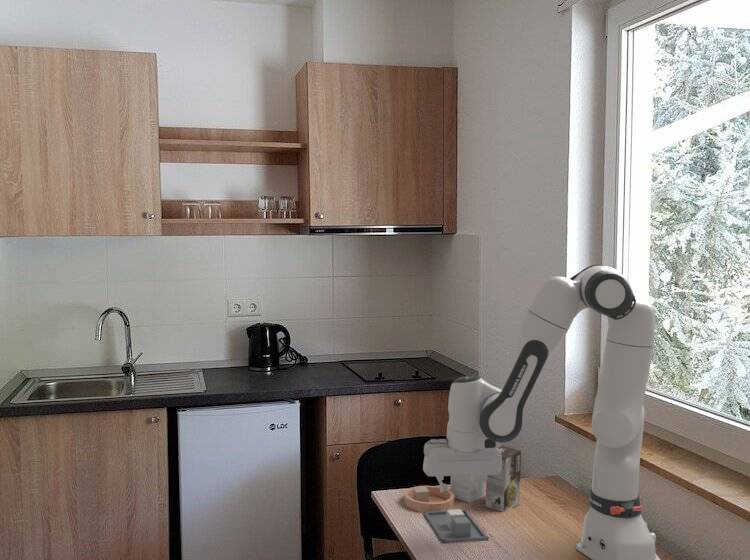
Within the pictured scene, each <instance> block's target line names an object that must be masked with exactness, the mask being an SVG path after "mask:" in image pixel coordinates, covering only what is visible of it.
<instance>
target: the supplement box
mask: <svg viewBox="0 0 750 560" xmlns="http://www.w3.org/2000/svg"><path fill="white" fill-rule="evenodd" d="M480 478H481V476H480V475H464V476H450V481H449V482H450V485H449V486H450V489H449V491H451V492H452V493H453V494H454V499H458V500H460V501H464V502H467V503H471V502H474V501H476V500H479V499H481V498H483V497H484V496H485V494H484V493H485V484H484V485H483V490H482V491H476V490H475V483H478V482H479V480H480Z"/></svg>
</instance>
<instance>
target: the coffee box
mask: <svg viewBox="0 0 750 560" xmlns="http://www.w3.org/2000/svg"><path fill="white" fill-rule="evenodd" d="M498 449H499V450H500V452H501V456H502V470H501V472H500V473H499V474H496V475H488V478H487V480H486V482H485V508H488V509H489V508H490V509H493V510H496V511H499V512H503V513H505V512H507V511H508V510H511V509H514V508H516V507H517V506H519V505H520V502H521V501H520V500H521V499H520V496H521V473H522V471H521V469H522V468H521V466H522V465H521V463H522V450H520V449H515V448H513V447H509V446H504V445H502V446H499V448H498ZM515 506H516V507H515ZM513 507H514V508H513Z"/></svg>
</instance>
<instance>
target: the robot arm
mask: <svg viewBox="0 0 750 560" xmlns="http://www.w3.org/2000/svg"><path fill="white" fill-rule="evenodd" d="M586 309H591V310H593V311H595V312H596V313H598V314H601V315H602V316H603V315H604V316H606V317H607V325H608V328H607V333H606V338H605V346H604V353H603V360H602V366H601V367H602V368H601V372H600V373H601V374H600V375H599V376H600V378H599V381H598V386H597V389H596V390H597V391H596V395H595V400H594V405H593V412H592V417H591V429H592V433H593V436H594V437H595V439H596V443H595V450H594V455H593V465H592V483H591V485H592V486H591V489H590V490H589V495H588V496H589V497H588V498H589V499H588V500H589V509H588V511H587V512H586V514H585V515H584V518H583V523H582V530H581V531H582V532H581V539H580V542H578V543H577V544H576V548H575V549H576V550H577V551H579V552H580V553H582V554H583V555H585V556H586V557H588V558H589V559H590V560H661V559H660V557H659V556H658V555H657V553H656V544H655V543H656V542H657V536H656V534H655V532H650V530H649V527H648V524H647V522H646V521H645V520H644V518H643V516H642V511H643V509H642V508H643V505H641V504H642V503H641V500H640V495H639V482H640V481H639V479H640V465H641V456H642V446H643V437H644V436H643V435H644V426H645V417H646V415H645V407H644V401H645V395H646V390H647V386H648V385H647V384H648V381H649V377H650V376H649V375H650V369H651V362H652V356H653V348H654V340H655V332H656V331H655V330H656V329H655V326H656V324H655V317H656V316H655V309H654V307H653V305H652V304H651V303H650V302H649V301H648V300H646V299H645V298H642V297H639V296H635V294H634V292H633V289H632V286H631V285H630V282H629V280H628V279H627V278H626V276H625V275H624V274H622V273H621V272H620V271H619V270H617V269H616V268H614V267H611V266H607V265H603V264H593V265H589V266H587V267H585V268H584V269H582V270H580V271H579V272H577V273H576V274H575V275H573V276H571V277H570V278H567V277H565V276H561V275H560V276H559V275H558V276H557V275H556V276H551V277H549V278H547V280H546V281H545V282H544V283H543V285H542V286H541V287H540V289H539V290H538V292H537V293H536V294H535V296H534V297H533V299H532V301H531V302H530V305H529V306H528V308H527V310H526V312H525V314H524V317H523V318H522V321H521V324H520V327H519V331H518V335H517V350H516V357H515V360H514V363H513V366H512V368H511V371H510V373H509V375H508V377H507V379H506V381H505V383H504V385H503V386H502V388H499V387H496V386H494V385H492V384H490V383H489V382H487V381H486V380H485V379H483V377H481V376H479V375H474V374H469V375H468V374H467V375H461V376H459V377H457V378H455V379H454V380H453V381H452V383H451V385H450V387H449V388H450V389H449V395H448V404H447V405H448V407H447V410H448V411H447V412H448V418H449V419H448V421H447V426H446V438H439V439H435V438H433V439H430V440H428V441H427V442H425V443H424V446H423V454H424V457H423V465H422V471H423V472H424V474H425V475H426V476H427V477H431V478H432V477H436V480H437V482H438V484H439V487H440V491H441V493H443V492H447V490H448V485H447V483H444V482H443V481H444V477H451V476H464V475H480V476H481V478H480V480H479V482H478V483H475V490H476V491H482V490H483V485H484V486H485V484H486V480H487V478H488V475H496V474H499V473H500V472H501V470H502V456H501V452H500V450H499V449H498V448H499V447H501V446H500V445H501V443H508V442H511V441H513V440H515V439H516V438H517V437H518V436H519V434H520V433H521V430H522V427H523V415H524V414H523V412H524V408H525V406H526V402H527V401H528V398H529V396H530V394H531V393H532V391H533V388H534V386H535V384H536V382H537V380H538V378H539V375H540V374H541V372H542V371H543V369H544V367H545V366H546V364H547V363H548V361H549V360H550V359H551V358H552V356H553V354H554V353H555V352H556V350H557V349H558V348H559V346H560V345H561V343H562V341H563V340H564V338H565V337H566V335H567V333H568V331H569V329H570V328H571V325H572V323H573V321H574V319H575V318H576V317H577V315H578V314H580V312H582V311H584V310H586Z"/></svg>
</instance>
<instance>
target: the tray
mask: <svg viewBox="0 0 750 560" xmlns="http://www.w3.org/2000/svg"><path fill="white" fill-rule="evenodd" d="M461 511H462V512H463V513H464V514H465V516H464V517H467V518H468V519H469V521H470V522H471V537H467V538H455V536H454V535H453V533H452V530H450V529H449V528H448V526H447V525H446V516H447V511H433V512H423V516H425V518H426V519H427V521H428V522H429V523H428V524H430V526H431V527H432V529H433V530H434V532H435V533H436V535H437V536H438V537H439V539H440V541H441V543H442V544H450V543H453V544H454V543H465V542H478V541H479V542H481V541H484V542H485V541H489V536H488V535H487V533H486V532H485V531H484V530H483V529H482V527H481V526H480V525H479V523H478V522H477V521H476V520H475V519H474V517H473V516H472V515H471V514H470V513H469V511H468V510H467V509H461Z"/></svg>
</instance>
